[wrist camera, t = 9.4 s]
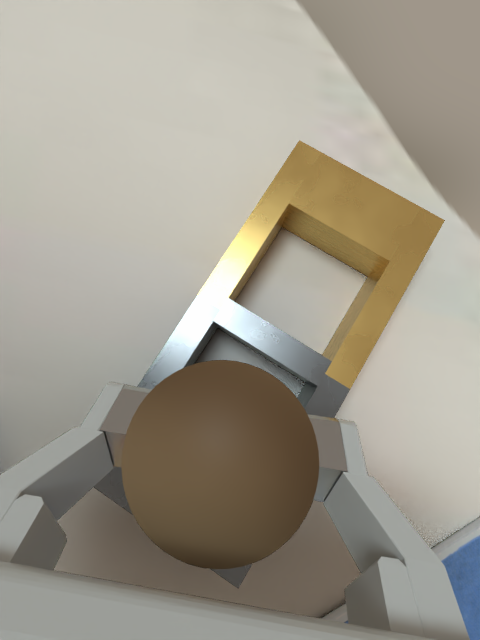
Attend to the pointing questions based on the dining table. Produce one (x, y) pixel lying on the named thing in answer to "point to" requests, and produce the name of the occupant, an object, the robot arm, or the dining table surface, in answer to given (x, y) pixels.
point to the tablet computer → (454, 576)
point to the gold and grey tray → (335, 239)
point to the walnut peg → (220, 464)
